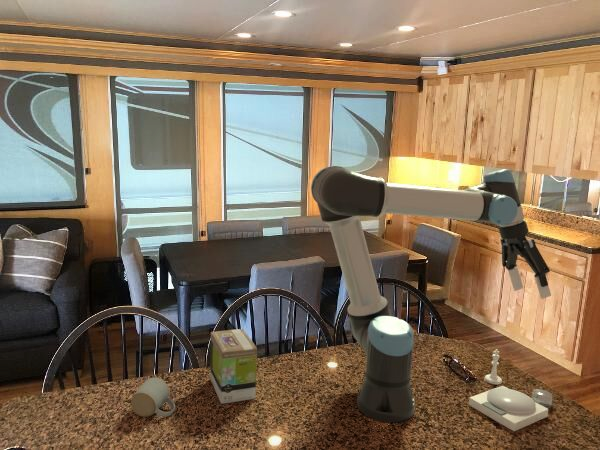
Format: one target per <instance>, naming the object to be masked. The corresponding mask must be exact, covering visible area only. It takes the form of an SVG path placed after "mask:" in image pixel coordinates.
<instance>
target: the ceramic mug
mask: <svg viewBox="0 0 600 450" xmlns="http://www.w3.org/2000/svg"><path fill="white" fill-rule="evenodd" d="M165 403H167V404H169V406H170V407H171V410H169V411H163V410H161V409H160V408H161V407H162V406H164V404H165ZM130 407H131V409H132V410H133V412H134V413H135V414H136V415H137V416H140V417H143V418H148V417H151V416H152V415H154V414H156V415H158V416H159V417H164V418H167V417H169V416H171V415H173V414H174V412H175V410H176V404H175V402H174V401H173V399H172V398H171V397H170V389H169V386H168V385H167V383H166V381H164V380H163V379H161V378H159V377H150V378H147V379H146V380H145V381H144V382H143V384H142V385H141V386H140V387H139V388H138V389H137V390H136V391H135V393H134V394H133V396H132V398H131V400H130Z"/></svg>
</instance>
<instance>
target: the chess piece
mask: <svg viewBox="0 0 600 450" xmlns="http://www.w3.org/2000/svg"><path fill="white" fill-rule="evenodd" d="M492 352H493V354H492V355H491V356H492V361H491V362H490V363H491V364H492V368H491V372H490V373H489V374H486V375H485V376H484V378H483V379H484V381H485V382H487V383H489V384H491V385H501V384H502V383H503V379H502V378H501V377H500V376H498V374H497V373H498V371H497V368H498V367H497V366H499V364H500V363H499V362H498V360H499V359H500V355H499V354H500V351H499V350H498V348H495V350H493V351H492Z"/></svg>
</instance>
